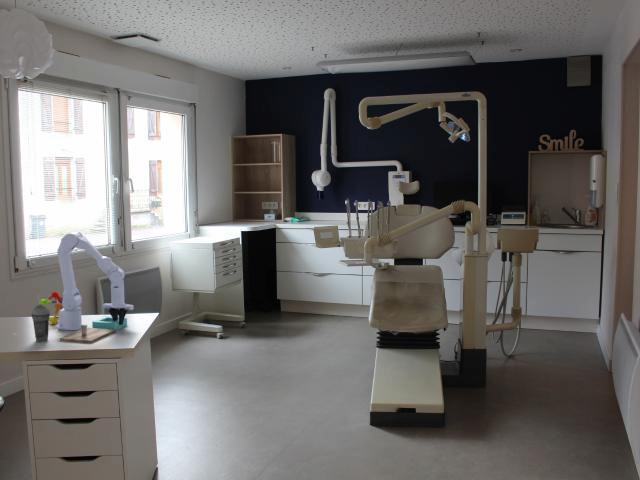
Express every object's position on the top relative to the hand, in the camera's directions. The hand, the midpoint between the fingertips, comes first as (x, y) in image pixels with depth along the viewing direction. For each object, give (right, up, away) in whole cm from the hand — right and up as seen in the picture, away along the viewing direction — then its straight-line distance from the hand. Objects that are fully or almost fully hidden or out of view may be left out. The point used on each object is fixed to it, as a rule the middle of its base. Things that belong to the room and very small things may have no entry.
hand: (118, 324), depth 292 cm
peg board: (-8, -3, -15) cm, 18 cm away
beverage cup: (-25, -4, -22) cm, 34 cm away
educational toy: (-34, 0, +12) cm, 36 cm away
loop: (-4, -2, +1) cm, 5 cm away
